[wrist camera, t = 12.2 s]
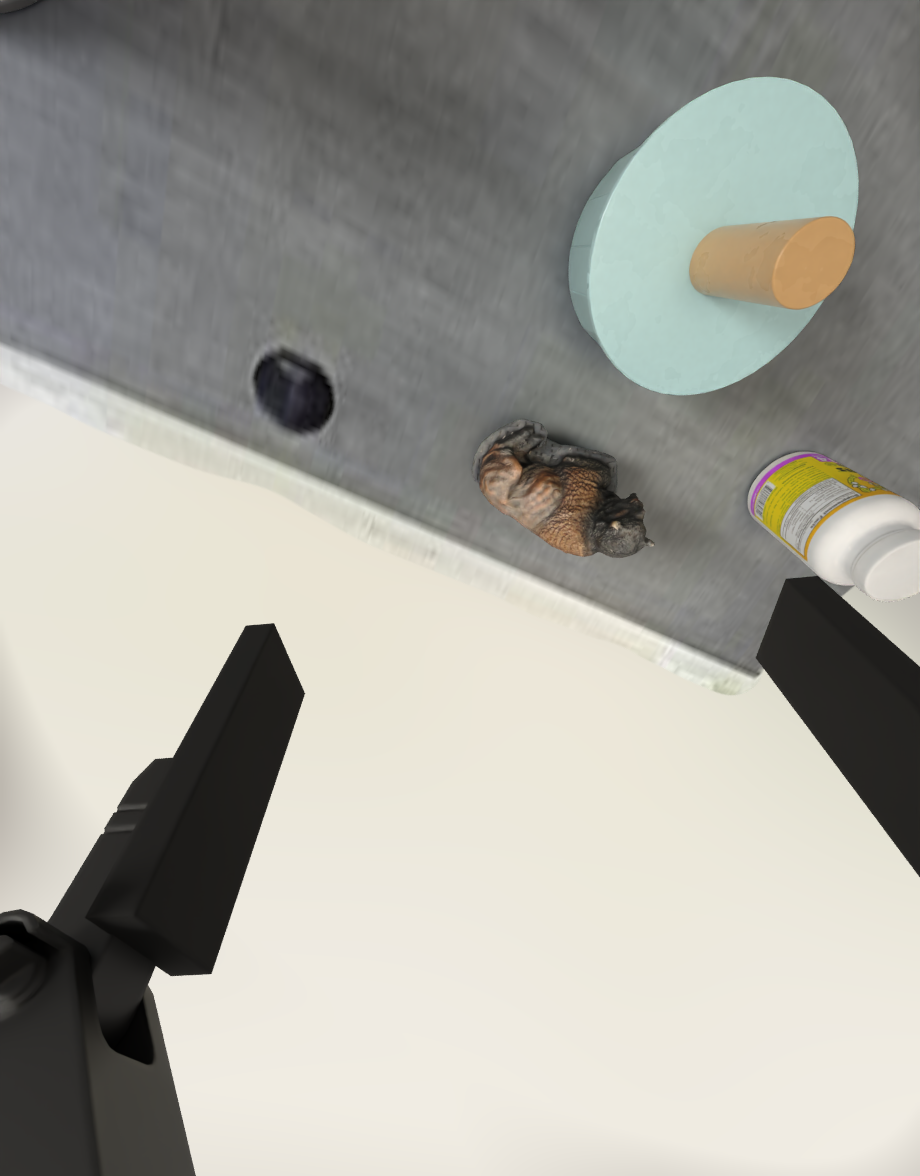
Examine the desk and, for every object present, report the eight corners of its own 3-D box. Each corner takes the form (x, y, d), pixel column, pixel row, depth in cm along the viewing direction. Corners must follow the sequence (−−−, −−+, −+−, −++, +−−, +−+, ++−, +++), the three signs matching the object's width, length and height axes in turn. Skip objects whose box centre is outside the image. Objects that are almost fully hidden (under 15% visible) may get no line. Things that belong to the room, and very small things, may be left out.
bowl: (571, 147, 26) (607, 117, 20) (777, 120, 26) (877, 79, 20) (565, 365, 33) (590, 390, 27) (728, 347, 32) (791, 369, 26)
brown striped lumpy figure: (461, 484, 38) (464, 547, 30) (490, 398, 34) (502, 444, 26) (592, 522, 40) (628, 590, 32) (634, 445, 37) (686, 501, 28)
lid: (592, 105, 21) (665, 28, 13) (888, 64, 20) (1126, -38, 13) (577, 401, 28) (620, 451, 21) (793, 378, 27) (912, 422, 20)
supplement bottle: (841, 487, 39) (983, 573, 28) (763, 536, 42) (868, 631, 31) (810, 430, 36) (956, 502, 26) (729, 487, 39) (832, 573, 28)
